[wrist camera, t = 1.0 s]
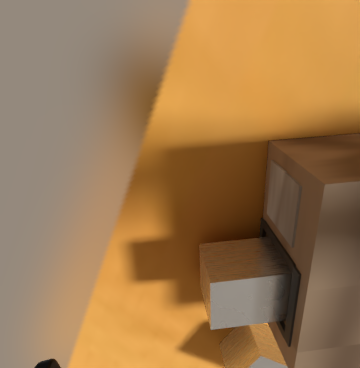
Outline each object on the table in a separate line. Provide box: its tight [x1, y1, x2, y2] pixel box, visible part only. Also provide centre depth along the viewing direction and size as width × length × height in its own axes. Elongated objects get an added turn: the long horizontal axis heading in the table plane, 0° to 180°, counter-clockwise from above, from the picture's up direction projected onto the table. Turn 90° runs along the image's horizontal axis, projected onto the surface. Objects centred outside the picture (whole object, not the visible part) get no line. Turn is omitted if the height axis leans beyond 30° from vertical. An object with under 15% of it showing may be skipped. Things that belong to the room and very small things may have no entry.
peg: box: [199, 237, 292, 330], centre depth 21 cm, size 7×4×4 cm, turn 93°
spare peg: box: [219, 323, 288, 368], centre depth 27 cm, size 7×4×4 cm, turn 56°
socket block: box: [259, 133, 360, 368], centre depth 21 cm, size 10×14×7 cm
